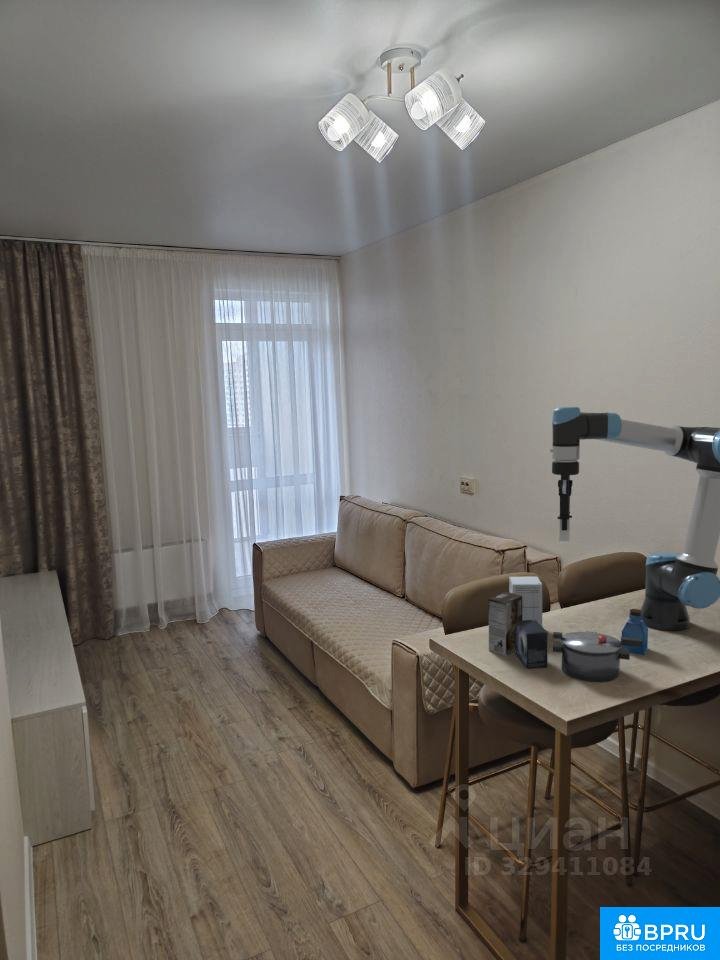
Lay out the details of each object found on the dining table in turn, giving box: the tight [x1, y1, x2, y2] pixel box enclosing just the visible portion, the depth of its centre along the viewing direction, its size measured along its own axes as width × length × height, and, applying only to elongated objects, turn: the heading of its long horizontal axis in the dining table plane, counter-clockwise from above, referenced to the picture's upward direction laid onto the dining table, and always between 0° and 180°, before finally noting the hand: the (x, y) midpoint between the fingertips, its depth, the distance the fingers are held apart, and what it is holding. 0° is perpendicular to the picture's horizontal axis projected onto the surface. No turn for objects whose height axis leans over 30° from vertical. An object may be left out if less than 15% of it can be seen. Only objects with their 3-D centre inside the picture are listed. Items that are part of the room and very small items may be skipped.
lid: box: [552, 630, 642, 654], centre depth 178 cm, size 23×16×2 cm
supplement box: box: [508, 576, 543, 627], centre depth 210 cm, size 10×9×17 cm
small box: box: [514, 620, 549, 670], centre depth 186 cm, size 11×6×10 cm, turn 5°
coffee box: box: [488, 591, 522, 657], centre depth 195 cm, size 9×6×16 cm
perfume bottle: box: [621, 608, 649, 657], centre depth 192 cm, size 6×6×12 cm
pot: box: [551, 640, 631, 683], centre depth 180 cm, size 20×16×7 cm
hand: (564, 540), depth 193 cm, fingers closed
